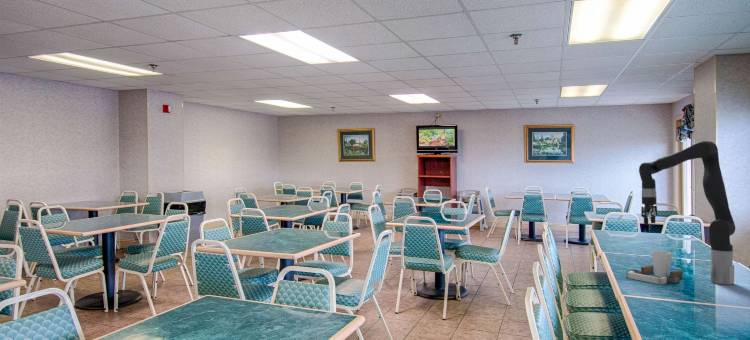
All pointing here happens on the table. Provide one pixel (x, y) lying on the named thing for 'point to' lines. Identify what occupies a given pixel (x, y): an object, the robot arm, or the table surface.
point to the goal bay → (646, 278)
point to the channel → (650, 269)
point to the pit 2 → (673, 279)
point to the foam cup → (661, 263)
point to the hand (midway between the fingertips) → (649, 223)
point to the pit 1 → (637, 271)
